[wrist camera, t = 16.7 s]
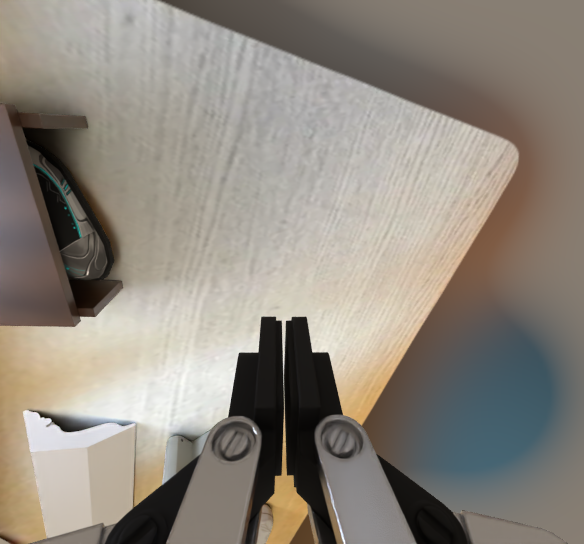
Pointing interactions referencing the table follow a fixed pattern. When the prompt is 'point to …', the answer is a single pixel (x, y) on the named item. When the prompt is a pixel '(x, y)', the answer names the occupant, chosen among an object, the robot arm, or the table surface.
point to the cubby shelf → (36, 237)
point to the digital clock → (181, 454)
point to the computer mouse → (72, 219)
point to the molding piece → (81, 473)
